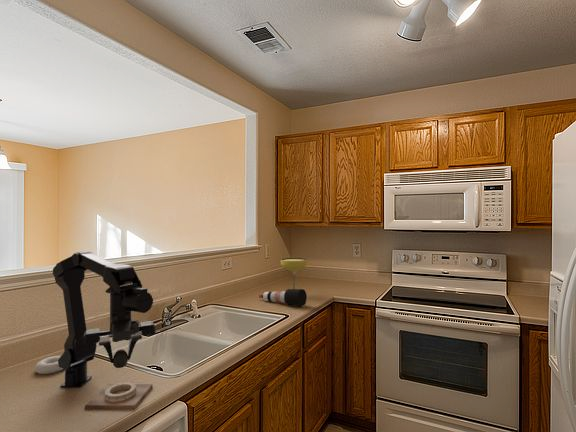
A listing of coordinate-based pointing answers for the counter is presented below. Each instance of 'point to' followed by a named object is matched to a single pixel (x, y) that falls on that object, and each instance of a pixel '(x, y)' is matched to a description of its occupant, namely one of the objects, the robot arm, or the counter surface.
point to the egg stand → (119, 396)
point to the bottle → (286, 297)
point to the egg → (120, 358)
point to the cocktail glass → (293, 265)
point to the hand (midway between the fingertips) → (120, 361)
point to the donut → (48, 365)
